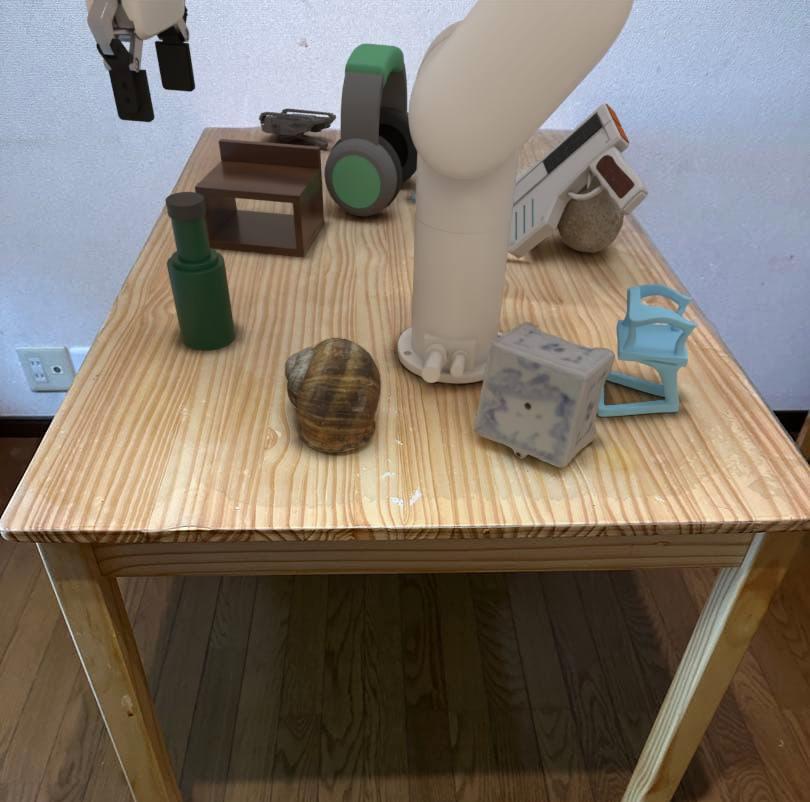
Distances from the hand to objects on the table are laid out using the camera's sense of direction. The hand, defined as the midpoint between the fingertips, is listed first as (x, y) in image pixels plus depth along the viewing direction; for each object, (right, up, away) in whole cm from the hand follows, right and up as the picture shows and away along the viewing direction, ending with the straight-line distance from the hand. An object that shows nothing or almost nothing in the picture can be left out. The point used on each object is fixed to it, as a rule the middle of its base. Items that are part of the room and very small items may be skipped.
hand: (159, 104), depth 73 cm
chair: (+47, -26, +9) cm, 55 cm away
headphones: (+19, +12, +47) cm, 52 cm away
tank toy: (+4, +33, +61) cm, 70 cm away
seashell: (+16, -29, +5) cm, 33 cm away
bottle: (0, -17, +17) cm, 24 cm away
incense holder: (+36, -31, +4) cm, 47 cm away
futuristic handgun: (+45, -4, +24) cm, 51 cm away
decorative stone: (+47, -1, +35) cm, 59 cm away
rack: (+3, +2, +37) cm, 37 cm away
